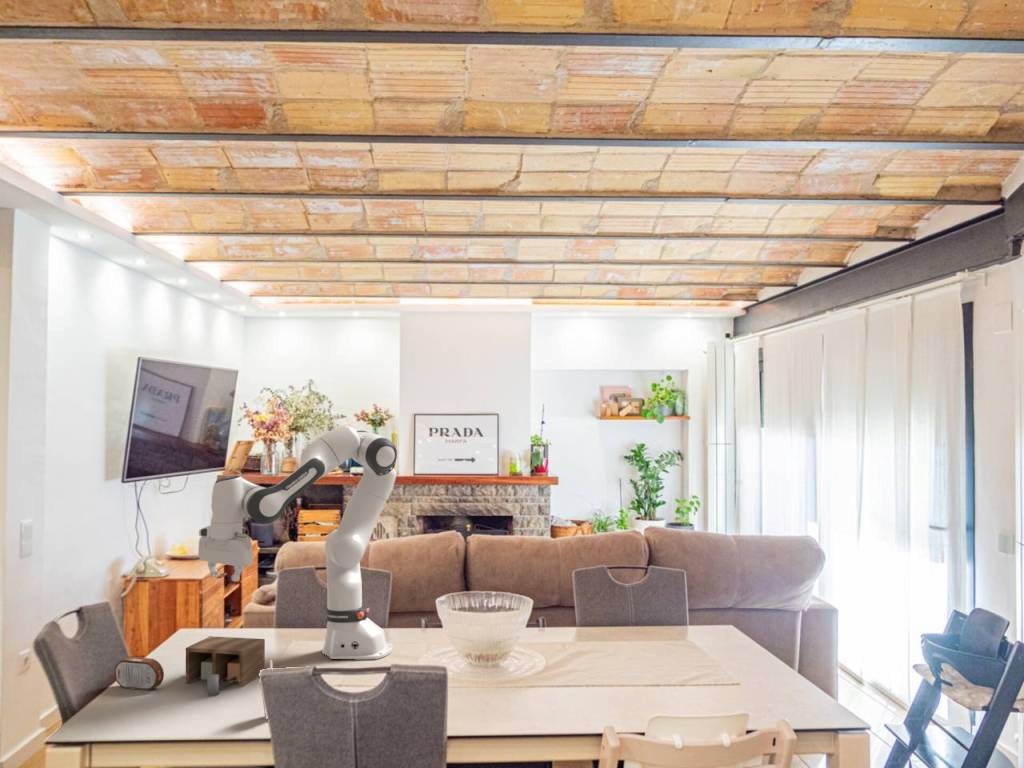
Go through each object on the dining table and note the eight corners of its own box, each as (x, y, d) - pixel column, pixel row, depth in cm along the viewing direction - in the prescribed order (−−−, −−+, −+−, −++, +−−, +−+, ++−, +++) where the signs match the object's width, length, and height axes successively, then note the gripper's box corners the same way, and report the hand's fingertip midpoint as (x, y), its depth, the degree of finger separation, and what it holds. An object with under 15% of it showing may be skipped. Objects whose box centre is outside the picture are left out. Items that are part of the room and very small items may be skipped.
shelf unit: (264, 672, 232) (264, 639, 233) (242, 686, 221) (242, 650, 221) (210, 669, 236) (210, 636, 237) (185, 683, 224) (185, 647, 225)
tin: (164, 688, 220) (164, 658, 221) (156, 692, 217) (156, 661, 218) (120, 684, 224) (120, 654, 225) (112, 688, 221) (112, 658, 222)
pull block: (254, 674, 231) (254, 657, 231) (218, 696, 213) (218, 678, 213) (238, 673, 232) (239, 656, 232) (201, 695, 214) (201, 677, 214)
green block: (228, 673, 233) (228, 656, 233) (216, 680, 227) (216, 662, 227) (213, 672, 234) (213, 655, 234) (201, 679, 228) (201, 662, 228)
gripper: (259, 533, 225) (257, 581, 225) (213, 527, 236) (211, 573, 235) (241, 535, 220) (239, 585, 219) (195, 529, 231) (193, 576, 230)
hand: (224, 579), depth 228 cm, fingers open, 8 cm apart
